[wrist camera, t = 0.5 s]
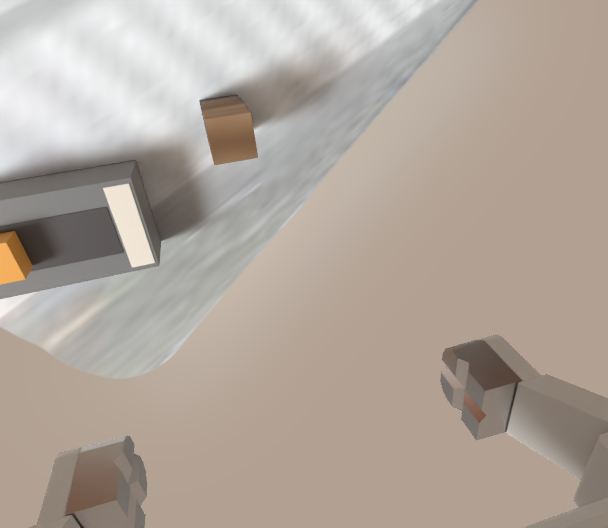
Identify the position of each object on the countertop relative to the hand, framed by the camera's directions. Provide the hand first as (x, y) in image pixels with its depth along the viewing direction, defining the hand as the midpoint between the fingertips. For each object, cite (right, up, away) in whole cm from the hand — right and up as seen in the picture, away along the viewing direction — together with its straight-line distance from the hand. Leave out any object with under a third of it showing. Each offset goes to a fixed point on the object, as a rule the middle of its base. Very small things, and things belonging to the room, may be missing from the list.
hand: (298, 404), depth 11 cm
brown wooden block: (-9, +19, +35) cm, 41 cm away
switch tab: (-29, +5, +30) cm, 42 cm away
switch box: (-25, +9, +36) cm, 45 cm away
